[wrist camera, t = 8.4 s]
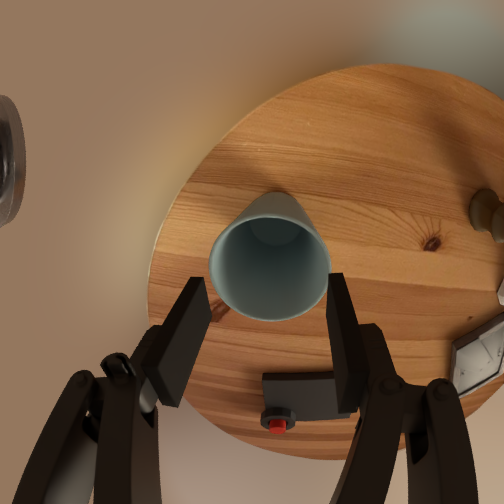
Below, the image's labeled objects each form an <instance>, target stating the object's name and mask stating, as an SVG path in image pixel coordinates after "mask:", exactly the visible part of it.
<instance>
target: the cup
mask: <svg viewBox="0 0 504 504" xmlns="http://www.w3.org/2000/svg"><path fill="white" fill-rule="evenodd" d="M209 273H210V278H211V281H212V284H213V286H214V288H215V290H216V292H217V293H218V295H219V296H220V297H221V299H222V300H223V301H224V302H225V303H226V304H227V305H228V306H230V307H231V308H232V309H234V310H235V311H237V312H238V313H240V314H242V315H244V316H247V317H249V318H253V319H257V320H262V321H282V320H287V319H291V318H294V317H297V316H299V315H302V314H303V313H305V312H307V311H308V310H310V309H311V308H312V307H314V306H315V305H316V304H317V303H318V302H319V301H320V299H321V298H322V297H323V295H324V294H325V292H326V290H327V288H328V273H331V259H330V255H329V252H328V249H327V247H326V245H325V243H324V242H323V240H322V238H321V237H320V235H319V233H318V232H317V230H316V229H315V227H314V225H313V224H312V222H311V221H310V219H309V217H308V216H307V214H306V212H305V211H304V209H303V208H302V206H301V205H300V204H299V203H298V202H297V200H296V199H295V198H293V197H292V196H289V195H287V194H285V193H282V192H269V193H266V194H264V195H262V196H261V197H259V198H257V199H256V200H255V201H254V202H252V203H251V204H250V205H249V206H248V207H247V208H246V209H245V210H244V211H243V212H242V213H241V214H240V215H239V216H238V217H237V218H236V219H235V220H234V221H233V222H232V223H231V224H230V225H229V226H228V227H227V228H226V229H225V230H224V231H223V232H222V233H221V234H220V235H219V236H218V238H217V239H216V241H215V243H214V245H213V247H212V250H211V253H210V257H209Z"/></svg>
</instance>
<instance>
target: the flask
mask: <svg viewBox="0 0 504 504" xmlns="http://www.w3.org/2000/svg"><path fill="white" fill-rule="evenodd" d="M497 295H498V298H499V301H500V304H501V305H503V306H504V279H503V282H502V284H501V286H500V288H499V291H498V293H497Z"/></svg>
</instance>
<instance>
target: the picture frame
mask: <svg viewBox="0 0 504 504" xmlns="http://www.w3.org/2000/svg"><path fill="white" fill-rule="evenodd" d="M503 371H504V312H503V313H501V314H500V315H498V316H497V317H495V318H494V319H492V320H490V321H489V322H487V323H485V324H484V325H482V326H480V327H479V328H477V329H475V330H473V331H472V332H470V333H468V334H466V335H465V336H463V337H461V338H459V339H457V340H455V341H453V342H452V356H451V370H450V382H452V383H453V384H454V386H455V388H456V390H457V393H458V396H459V399H460V398H462V397H464V396H466V395H468V394H470V393H472V392H473V391H475V390H477V389H479V388H480V387H482V386H484V385H485V384H487V383H489V382H490V381H492V380H494V379H495V378H497V377H498V376H500V375H501V374H503Z"/></svg>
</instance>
